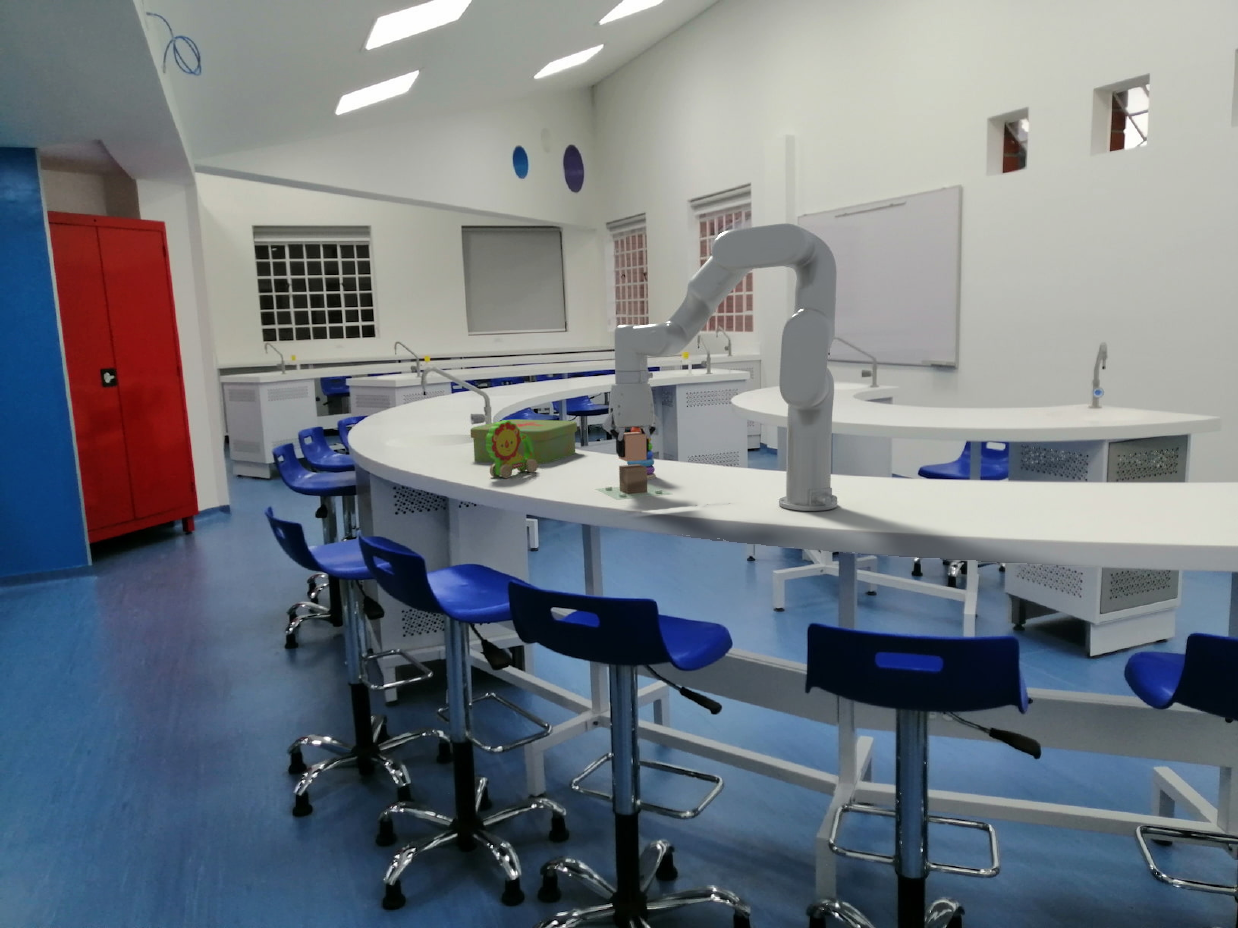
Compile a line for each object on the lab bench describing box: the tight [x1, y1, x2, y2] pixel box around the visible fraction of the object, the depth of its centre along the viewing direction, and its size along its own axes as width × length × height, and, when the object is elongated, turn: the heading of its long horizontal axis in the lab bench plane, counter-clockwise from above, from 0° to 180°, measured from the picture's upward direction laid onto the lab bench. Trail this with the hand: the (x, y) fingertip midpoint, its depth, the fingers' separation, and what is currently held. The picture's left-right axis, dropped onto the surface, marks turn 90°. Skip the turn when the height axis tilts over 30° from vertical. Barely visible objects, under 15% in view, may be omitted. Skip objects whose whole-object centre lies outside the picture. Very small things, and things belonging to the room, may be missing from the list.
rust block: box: [618, 431, 647, 462], centre depth 207 cm, size 5×5×6 cm
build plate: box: [595, 483, 673, 501], centre depth 209 cm, size 14×14×2 cm
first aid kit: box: [470, 418, 578, 465], centre depth 273 cm, size 26×26×10 cm
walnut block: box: [618, 464, 648, 494], centre depth 208 cm, size 5×5×6 cm
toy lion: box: [486, 419, 539, 479], centre depth 239 cm, size 16×5×15 cm, turn 141°
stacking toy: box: [626, 427, 657, 480], centre depth 226 cm, size 8×8×19 cm
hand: (632, 455), depth 208 cm, fingers closed on rust block, 5 cm apart
